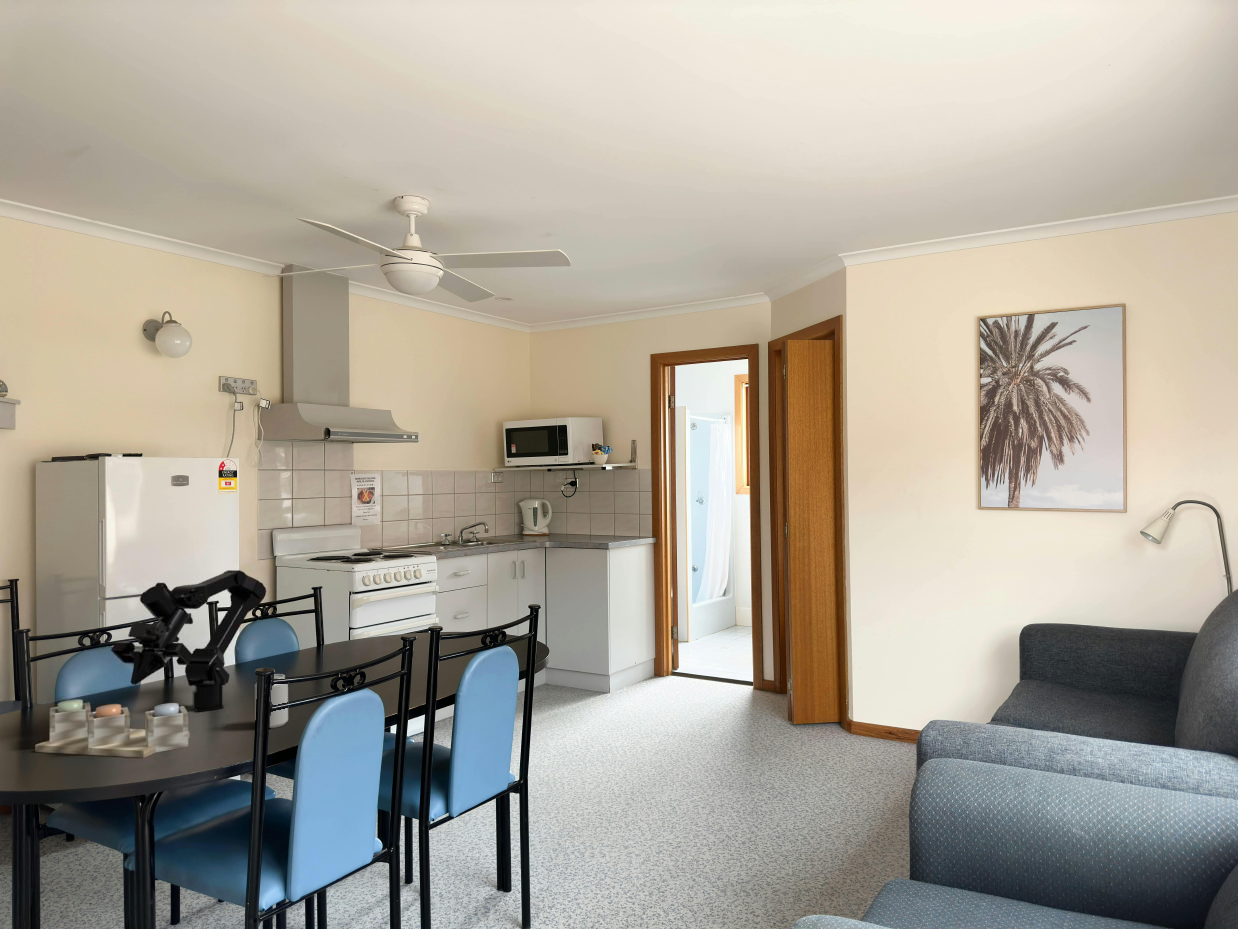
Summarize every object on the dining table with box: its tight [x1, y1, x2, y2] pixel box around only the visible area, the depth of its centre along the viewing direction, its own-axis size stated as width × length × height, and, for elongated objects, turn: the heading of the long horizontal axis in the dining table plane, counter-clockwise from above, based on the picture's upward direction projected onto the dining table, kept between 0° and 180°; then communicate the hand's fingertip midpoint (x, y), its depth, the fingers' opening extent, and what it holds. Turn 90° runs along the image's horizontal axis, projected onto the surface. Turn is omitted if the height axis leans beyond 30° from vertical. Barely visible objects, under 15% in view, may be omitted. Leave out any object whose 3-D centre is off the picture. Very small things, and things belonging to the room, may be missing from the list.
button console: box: [34, 702, 191, 759], centre depth 187 cm, size 14×37×8 cm, turn 79°
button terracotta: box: [95, 703, 122, 718], centre depth 185 cm, size 5×5×3 cm
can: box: [254, 673, 289, 729], centre depth 200 cm, size 8×8×12 cm
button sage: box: [57, 698, 84, 713], centre depth 190 cm, size 5×5×3 cm
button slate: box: [153, 702, 180, 717], centre depth 185 cm, size 5×5×3 cm
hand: (132, 683), depth 192 cm, fingers closed
